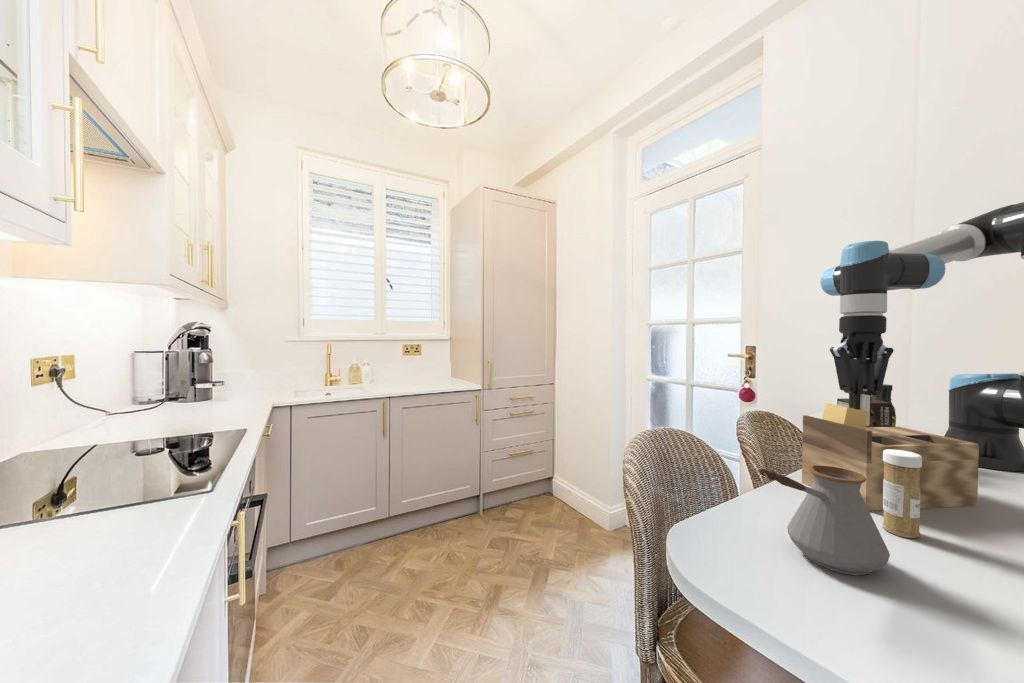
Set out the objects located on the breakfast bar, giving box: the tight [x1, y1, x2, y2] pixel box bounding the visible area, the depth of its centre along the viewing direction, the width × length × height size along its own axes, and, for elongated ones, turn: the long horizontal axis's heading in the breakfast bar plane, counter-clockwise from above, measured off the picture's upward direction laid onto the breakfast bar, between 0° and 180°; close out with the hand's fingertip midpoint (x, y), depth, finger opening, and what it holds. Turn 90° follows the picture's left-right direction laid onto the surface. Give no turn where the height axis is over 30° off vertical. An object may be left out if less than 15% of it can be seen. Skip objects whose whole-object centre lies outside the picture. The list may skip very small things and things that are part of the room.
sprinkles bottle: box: [881, 449, 922, 539], centre depth 64 cm, size 5×5×14 cm
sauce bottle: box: [872, 383, 897, 427], centre depth 104 cm, size 6×6×20 cm
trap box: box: [801, 415, 979, 512], centre depth 80 cm, size 24×14×15 cm, turn 96°
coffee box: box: [836, 398, 893, 427], centre depth 100 cm, size 9×6×16 cm
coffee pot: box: [750, 465, 891, 576], centre depth 55 cm, size 21×12×15 cm, turn 108°
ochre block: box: [821, 402, 868, 429], centre depth 83 cm, size 5×5×5 cm
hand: (859, 424), depth 83 cm, fingers closed
